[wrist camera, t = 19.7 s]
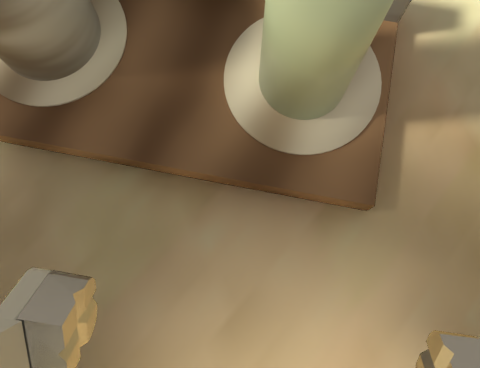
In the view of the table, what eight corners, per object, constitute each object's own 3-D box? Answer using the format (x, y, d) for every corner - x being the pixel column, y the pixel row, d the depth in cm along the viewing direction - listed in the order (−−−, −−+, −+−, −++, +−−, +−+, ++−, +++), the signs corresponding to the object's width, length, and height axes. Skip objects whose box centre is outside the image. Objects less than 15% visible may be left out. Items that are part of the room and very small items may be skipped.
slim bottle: (251, 111, 25) (264, -103, 11) (267, 32, 26) (296, -247, 13) (339, 127, 25) (460, -71, 11) (351, 47, 26) (475, -221, 12)
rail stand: (-43, 133, 27) (-226, 31, 16) (22, -51, 30) (-96, -236, 19) (366, 210, 25) (454, 156, 15) (393, 12, 28) (481, -149, 18)
